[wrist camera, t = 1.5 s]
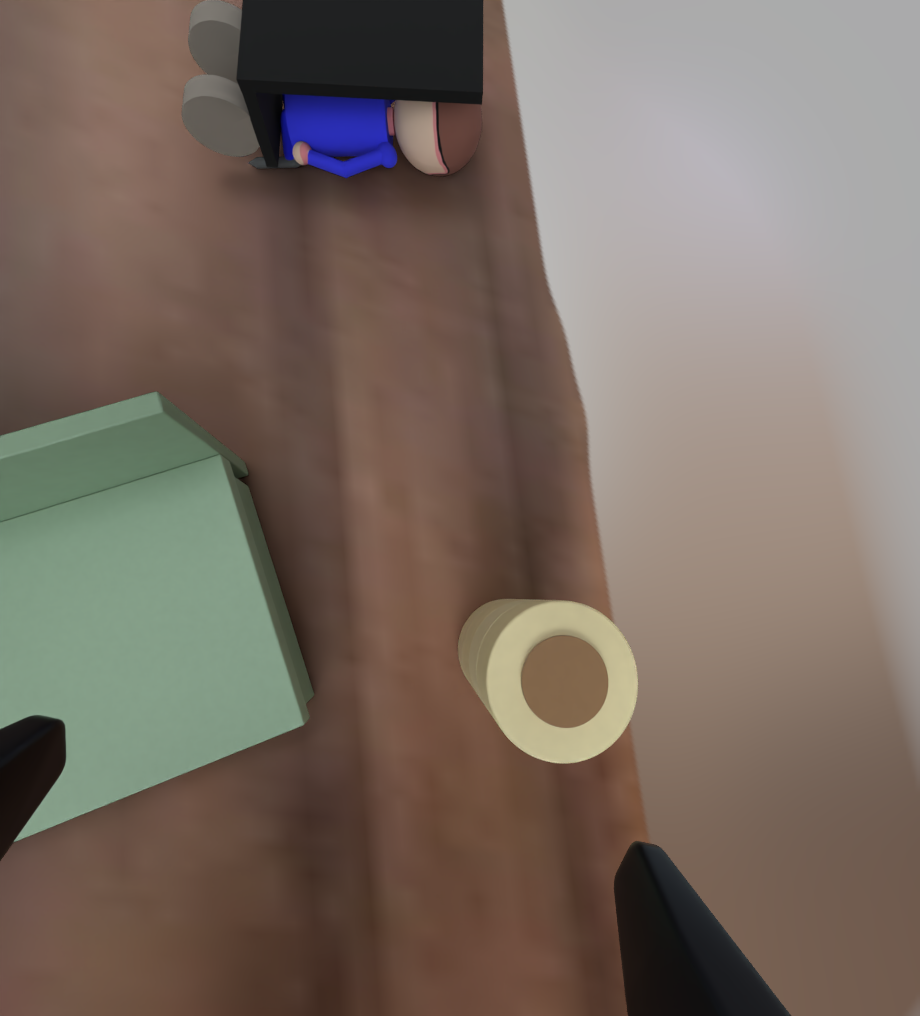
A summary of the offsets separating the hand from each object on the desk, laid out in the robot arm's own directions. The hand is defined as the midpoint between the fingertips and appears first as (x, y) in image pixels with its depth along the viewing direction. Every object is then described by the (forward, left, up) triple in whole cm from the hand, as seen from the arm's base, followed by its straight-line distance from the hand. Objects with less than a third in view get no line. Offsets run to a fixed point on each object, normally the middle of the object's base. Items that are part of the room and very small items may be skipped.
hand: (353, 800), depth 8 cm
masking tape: (+4, -4, -17) cm, 18 cm away
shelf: (-8, +11, -17) cm, 22 cm away
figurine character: (+21, +20, -17) cm, 34 cm away
